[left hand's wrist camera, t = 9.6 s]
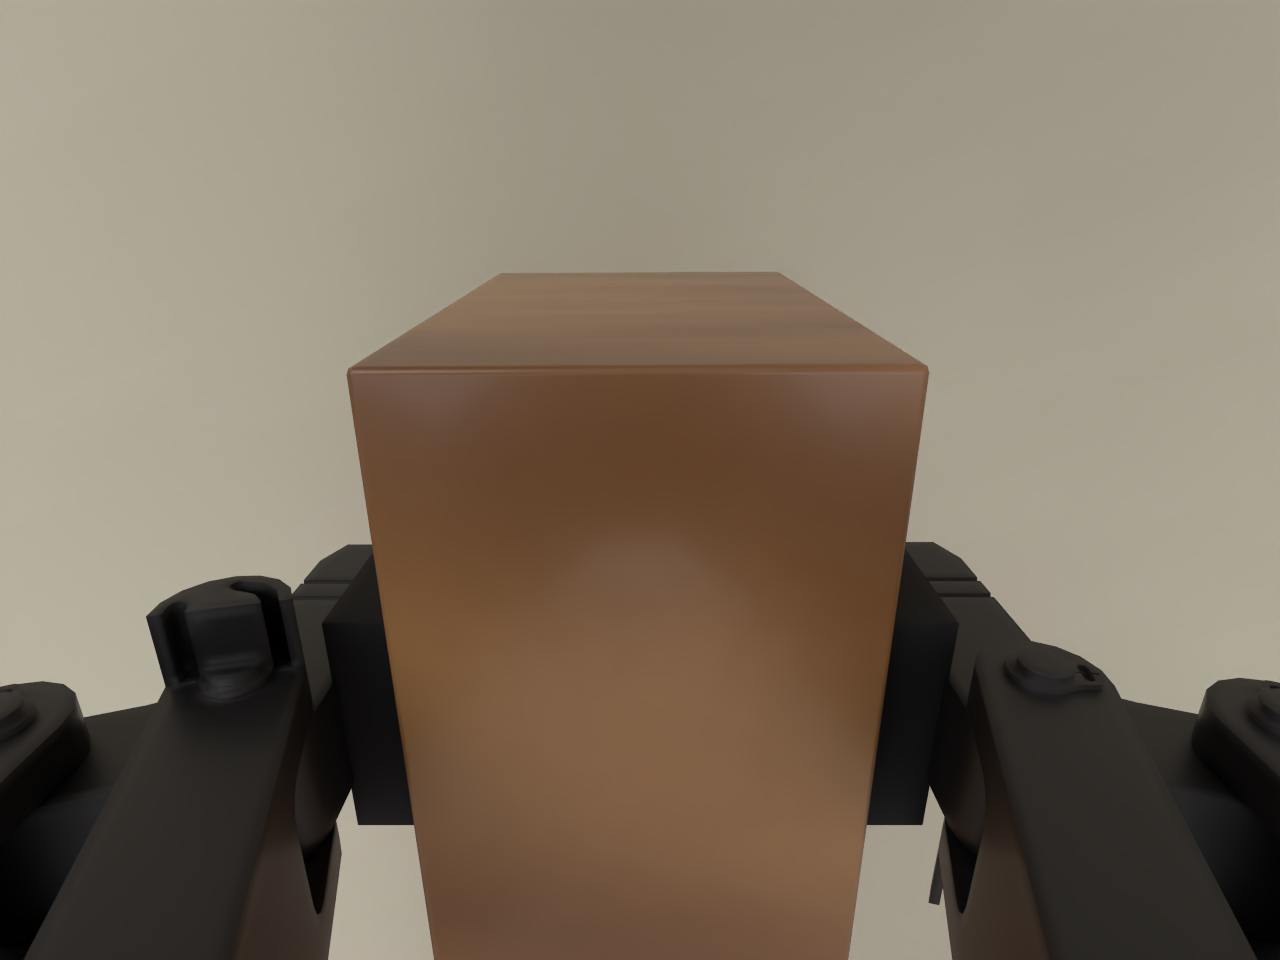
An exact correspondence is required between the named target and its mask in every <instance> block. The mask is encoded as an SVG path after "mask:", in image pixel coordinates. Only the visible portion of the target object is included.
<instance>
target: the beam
mask: <svg viewBox="0 0 1280 960" xmlns="http://www.w3.org/2000/svg"><path fill="white" fill-rule="evenodd" d="M928 377H929V370H928V367H927V366H926V365H925V364H923V363H922V362H920V361H918V360H917V359H915V358H914V357H912V356H910V355H909V354H907V353H906V352H904V351H903V350H901V349H899V348H898V347H896V346H895V345H893V344H891V343H890V342H888V341H887V340H885V339H883V338H882V337H880V336H879V335H877V334H876V333H874V332H872V331H871V330H869V329H868V328H866V327H864V326H863V325H861V324H860V323H858V322H857V321H855V320H853V319H852V318H850V317H849V316H847V315H845V314H844V313H842V312H841V311H839V310H837V309H836V308H834V307H833V306H831V305H830V304H828V303H826V302H825V301H823V300H822V299H820V298H818V297H817V296H815V295H814V294H812V293H811V292H809V291H807V290H806V289H804V288H803V287H801V286H799V285H798V284H796V283H795V282H793V281H791V280H790V279H788V278H787V277H785V276H784V275H782V274H780V273H778V272H680V273H501V274H499V275H497V276H496V277H494V278H493V279H491V280H489V281H488V282H486V283H485V284H483V285H481V286H480V287H478V288H477V289H475V290H473V291H472V292H470V293H469V294H467V295H465V296H464V297H462V298H461V299H459V300H457V301H456V302H454V303H453V304H451V305H449V306H448V307H446V308H445V309H443V310H441V311H440V312H438V313H437V314H435V315H433V316H432V317H430V318H429V319H427V320H425V321H424V322H422V323H421V324H419V325H417V326H416V327H414V328H413V329H411V330H409V331H408V332H406V333H405V334H403V335H401V336H400V337H398V338H397V339H395V340H393V341H392V342H390V343H389V344H387V345H385V346H384V347H382V348H381V349H379V350H377V351H376V352H374V353H373V354H371V355H369V356H368V357H366V358H365V359H363V360H361V361H360V362H358V363H357V364H355V365H353V366H352V367H350V368H349V369H348V372H347V380H348V387H349V393H350V400H351V407H352V413H353V420H354V427H355V433H356V440H357V447H358V453H359V460H360V467H361V473H362V480H363V487H364V493H365V500H366V507H367V513H368V520H369V527H370V534H371V540H372V547H373V554H374V560H375V567H376V574H377V580H378V587H379V594H380V600H381V607H382V614H383V620H384V627H385V634H386V640H387V647H388V654H389V661H390V667H391V674H392V681H393V687H394V694H395V701H396V707H397V714H398V721H399V727H400V734H401V741H402V747H403V754H404V761H405V767H406V774H407V781H408V788H409V794H410V801H411V808H412V814H413V821H414V828H415V834H416V841H417V848H418V854H419V861H420V868H421V874H422V881H423V888H424V894H425V901H426V908H427V914H428V921H429V928H430V935H431V941H432V948H433V955H434V960H848V956H849V949H850V942H851V935H852V927H853V920H854V913H855V906H856V898H857V891H858V884H859V877H860V869H861V862H862V855H863V848H864V840H865V833H866V826H867V819H868V811H869V804H870V797H871V790H872V782H873V775H874V768H875V761H876V753H877V746H878V739H879V732H880V724H881V717H882V710H883V703H884V695H885V688H886V681H887V674H888V666H889V659H890V652H891V645H892V637H893V630H894V623H895V616H896V608H897V601H898V594H899V587H900V580H901V572H902V565H903V558H904V551H905V543H906V536H907V529H908V522H909V514H910V507H911V500H912V493H913V485H914V478H915V471H916V464H917V456H918V449H919V442H920V435H921V427H922V420H923V413H924V406H925V398H926V391H927V384H928Z"/></svg>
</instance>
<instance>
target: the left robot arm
mask: <svg viewBox="0 0 1280 960" xmlns="http://www.w3.org/2000/svg"><path fill="white" fill-rule="evenodd" d="M146 618H147V622H148V625H149V629H150V633H151V636H152V640H153V643H154V647H155V650H156V654H157V657H158V661H159V665H160V668H161V672H162V675H163V679H164V682H165V686H166V687H165V689H164V691H163V693H162V695H161V697H160V699H159V701H158V703H154V704H150V705H146V706H141V707H136V708H131V709H126V710H120V711H115V712H110V713H105V714H100V715H94V716H89V717H83V714H82V711H81V709H80V706H79V703H78V700H77V697H76V694H75V692H73V691H72V690H71V689H69V688H68V687H67V686H65V685H64V684H58V683H51V682H43V681H41V682H33V683H24V684H11V685H7V686H2V687H0V960H328V955H329V947H330V939H331V932H332V924H333V916H334V908H335V901H336V893H337V885H338V878H339V870H340V862H341V854H342V852H341V845H340V838H339V833H338V828H337V823H336V820H337V817H338V815H339V813H340V811H341V809H342V807H343V805H344V803H345V801H346V798H347V796H348V794H349V792H350V790H351V788H352V794H353V799H354V805H355V810H356V816H357V821H358V825H414V821H413V814H412V808H411V801H410V794H409V788H408V781H407V774H406V767H405V761H404V754H403V747H402V741H401V734H400V727H399V721H398V714H397V707H396V701H395V694H394V687H393V681H392V674H391V667H390V661H389V654H388V647H387V640H386V634H385V627H384V620H383V614H382V607H381V600H380V594H379V587H378V580H377V574H376V567H375V560H374V554H373V547H372V545H346V546H345V547H343V548H341V549H340V550H338V551H336V552H335V553H333V554H331V555H329V556H328V557H326V558H324V559H323V560H321V561H320V562H319V563H318V564H317V565H316V567H315V568H314V569H313V570H312V571H311V572H310V574H309V575H308V576H307V577H306V578H305V580H304V584H300V585H299V587H298V588H297V589H296V590H295V591H294V593H293V594H292V593H291V588H290V587H289V586H288V585H286V584H285V583H283V582H282V581H281V580H279V579H274V578H269V577H264V576H235V577H230V578H225V579H219V580H214V581H209V582H206V583H203V584H200V585H197V586H194V587H192V588H189V589H186V590H183V591H181V592H179V593H177V594H175V595H174V596H172V597H170V598H168V599H166V600H165V601H163V602H161V603H160V604H159V605H158V606H157V607H155V608H154V609H153V610H152V611H151V612H150V613H149V614H148V615H147V616H146ZM929 786H930V787H931V789H932V791H933V793H934V795H935V798H936V800H937V802H938V804H939V806H940V808H941V810H942V812H943V814H944V816H945V817H944V823H943V828H942V833H941V838H940V843H939V848H938V853H937V858H936V863H935V869H934V874H933V879H932V884H931V890H930V897H929V903H932V904H937V905H939V903H940V898H941V893H942V889H943V891H944V899H945V907H946V914H947V922H948V930H949V937H950V945H951V953H952V960H1280V683H1278V682H1273V681H1267V680H1265V681H1262V680H1254V679H1245V678H1235V679H1228V680H1220V681H1217V682H1216V683H1215V684H1213V685H1212V686H1210V687H1209V688H1208V689H1207V690H1206V693H1205V696H1204V699H1203V702H1202V705H1201V708H1200V711H1199V714H1194V713H1189V712H1183V711H1178V710H1173V709H1168V708H1163V707H1157V706H1152V705H1147V704H1142V703H1137V702H1133V701H1129V700H1125V699H1121V697H1120V695H1119V693H1118V692H1117V690H1116V688H1115V686H1114V685H1113V683H1112V682H1111V681H1110V680H1109V679H1108V678H1107V676H1106V675H1105V674H1104V673H1103V672H1102V670H1100V669H1098V668H1097V667H1095V666H1094V665H1092V664H1091V663H1089V662H1088V661H1086V660H1085V659H1083V658H1082V657H1080V656H1077V655H1075V654H1073V653H1070V652H1068V651H1065V650H1063V649H1060V648H1058V647H1055V646H1051V645H1046V644H1042V643H1037V642H1033V641H1031V640H1030V639H1029V638H1028V637H1027V636H1026V634H1025V633H1024V632H1023V631H1022V630H1021V629H1020V627H1019V626H1018V625H1017V624H1016V623H1015V621H1014V620H1013V619H1012V618H1011V617H1010V616H1009V614H1008V613H1007V612H1006V611H1005V610H1004V609H1003V607H1002V606H1001V605H1000V604H999V603H998V601H997V600H996V599H995V598H994V597H991V596H990V592H989V591H988V590H987V589H986V587H985V586H984V585H983V584H982V583H981V581H977V577H976V576H975V574H974V573H973V572H972V571H971V570H970V569H969V567H968V566H967V565H966V564H965V563H964V561H963V560H962V559H961V558H959V557H958V556H956V555H954V554H953V553H951V552H949V551H947V550H946V549H944V548H942V547H941V546H939V545H937V544H935V543H934V542H906V543H905V551H904V558H903V565H902V572H901V580H900V587H899V594H898V601H897V608H896V616H895V623H894V630H893V637H892V645H891V652H890V659H889V666H888V674H887V681H886V688H885V695H884V703H883V710H882V717H881V724H880V732H879V739H878V746H877V753H876V761H875V768H874V775H873V782H872V790H871V797H870V804H869V811H868V819H867V825H922V824H923V819H924V813H925V808H926V802H927V797H928V791H929Z"/></svg>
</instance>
